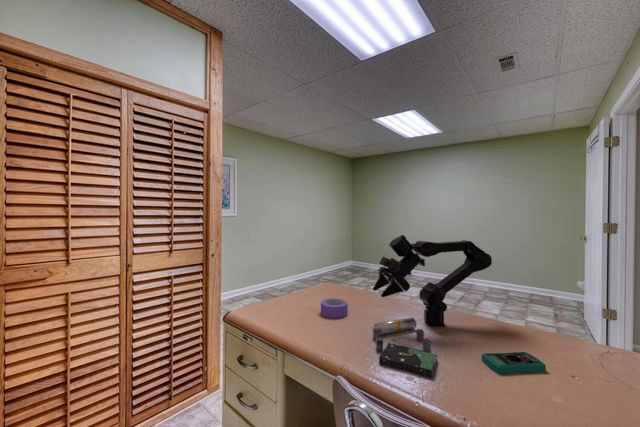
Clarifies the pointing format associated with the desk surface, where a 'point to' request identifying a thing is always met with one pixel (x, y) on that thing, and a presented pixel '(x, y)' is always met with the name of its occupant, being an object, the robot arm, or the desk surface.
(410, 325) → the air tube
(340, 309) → the tape roll
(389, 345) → the disk drive
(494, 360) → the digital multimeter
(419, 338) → the collar stand
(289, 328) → the desk surface
